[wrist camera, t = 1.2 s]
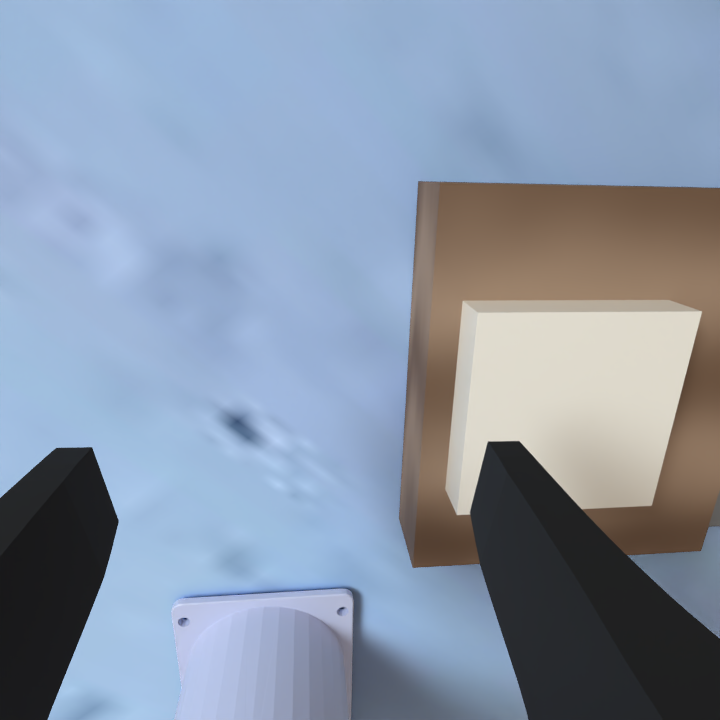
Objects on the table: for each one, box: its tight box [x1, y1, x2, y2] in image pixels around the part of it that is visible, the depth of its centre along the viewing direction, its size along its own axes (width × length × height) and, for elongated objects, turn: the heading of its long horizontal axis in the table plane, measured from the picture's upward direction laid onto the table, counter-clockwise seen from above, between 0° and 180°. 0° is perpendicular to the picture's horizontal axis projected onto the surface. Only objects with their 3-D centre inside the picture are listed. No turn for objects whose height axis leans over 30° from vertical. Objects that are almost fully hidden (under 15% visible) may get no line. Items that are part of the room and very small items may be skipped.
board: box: [399, 181, 720, 568], centre depth 19 cm, size 14×12×3 cm
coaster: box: [445, 300, 702, 515], centre depth 17 cm, size 7×7×2 cm
